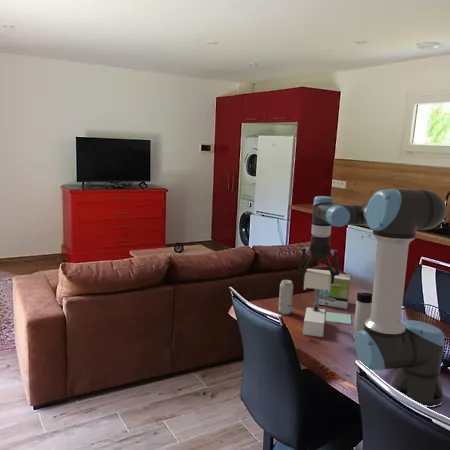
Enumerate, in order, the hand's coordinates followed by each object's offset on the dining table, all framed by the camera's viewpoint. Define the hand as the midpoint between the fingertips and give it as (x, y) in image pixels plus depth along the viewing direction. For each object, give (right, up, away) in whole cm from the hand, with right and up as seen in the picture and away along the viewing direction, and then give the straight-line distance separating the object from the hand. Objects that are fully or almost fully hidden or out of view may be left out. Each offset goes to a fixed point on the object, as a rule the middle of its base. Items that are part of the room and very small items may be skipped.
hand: (316, 289), depth 182 cm
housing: (+1, -18, +9) cm, 20 cm away
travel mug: (+18, -20, -1) cm, 27 cm away
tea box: (+16, -13, +40) cm, 45 cm away
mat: (+14, -16, +21) cm, 30 cm away
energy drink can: (-10, -14, +26) cm, 31 cm away
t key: (+5, -11, +11) cm, 16 cm away
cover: (0, +1, 0) cm, 2 cm away
